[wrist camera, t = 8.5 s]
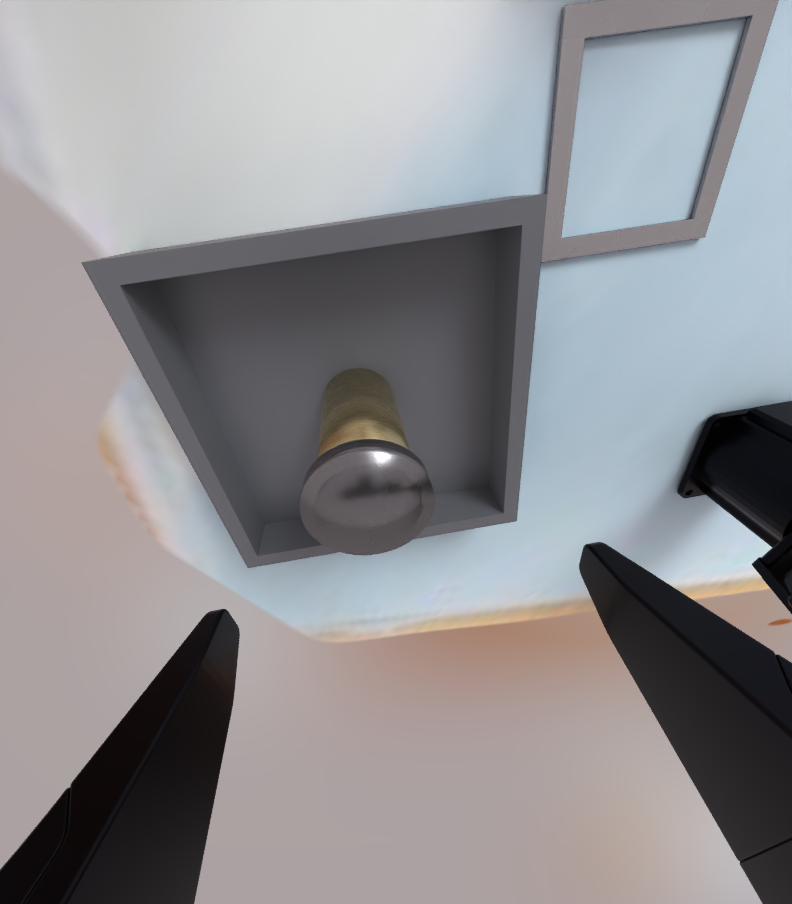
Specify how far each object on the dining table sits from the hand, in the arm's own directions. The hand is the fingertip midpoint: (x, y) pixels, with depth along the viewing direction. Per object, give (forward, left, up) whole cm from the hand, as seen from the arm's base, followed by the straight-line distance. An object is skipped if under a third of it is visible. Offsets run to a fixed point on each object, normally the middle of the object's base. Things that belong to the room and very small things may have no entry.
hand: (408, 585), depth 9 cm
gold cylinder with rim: (0, +1, -11) cm, 11 cm away
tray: (0, +1, -12) cm, 12 cm away
